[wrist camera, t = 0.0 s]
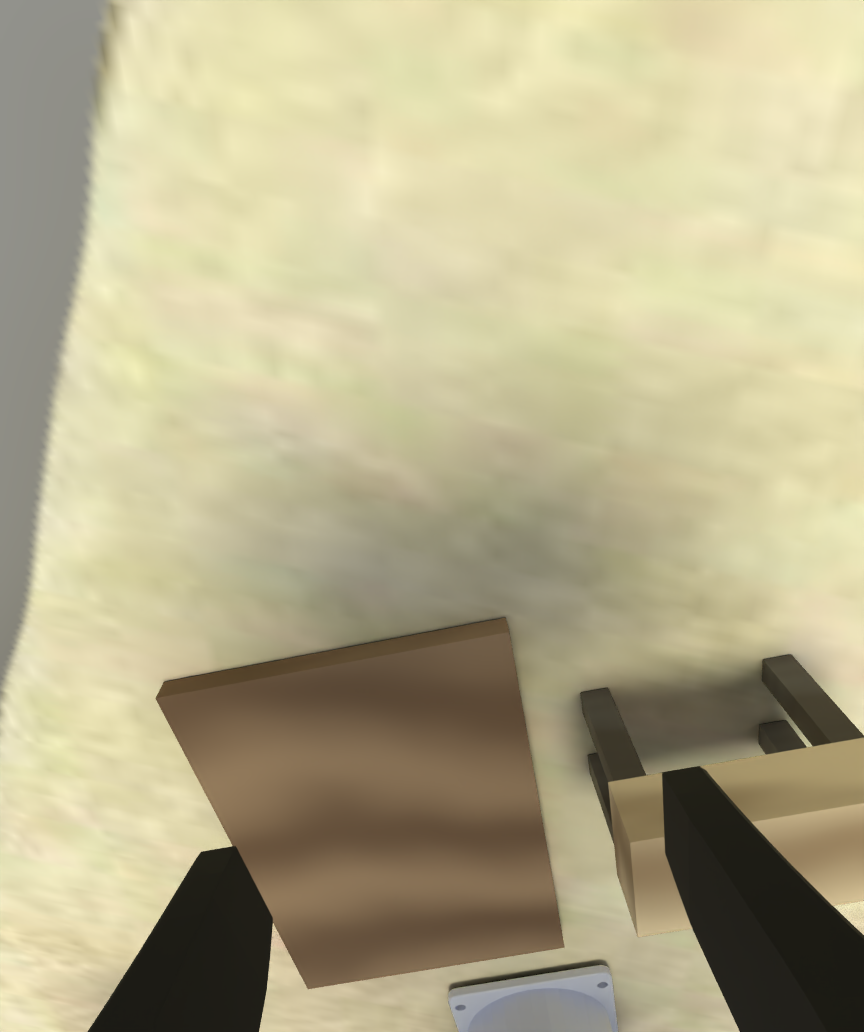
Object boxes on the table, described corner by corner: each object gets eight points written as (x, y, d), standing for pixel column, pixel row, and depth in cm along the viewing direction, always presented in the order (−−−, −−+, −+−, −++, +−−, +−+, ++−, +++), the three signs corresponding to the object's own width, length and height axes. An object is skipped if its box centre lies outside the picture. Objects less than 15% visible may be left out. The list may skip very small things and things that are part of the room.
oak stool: (789, 740, 24) (903, 894, 18) (585, 776, 24) (637, 937, 19) (797, 650, 22) (927, 792, 16) (574, 690, 22) (630, 842, 17)
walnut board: (560, 928, 28) (564, 947, 28) (310, 970, 29) (308, 988, 28) (505, 617, 21) (509, 631, 20) (163, 682, 21) (155, 698, 20)
